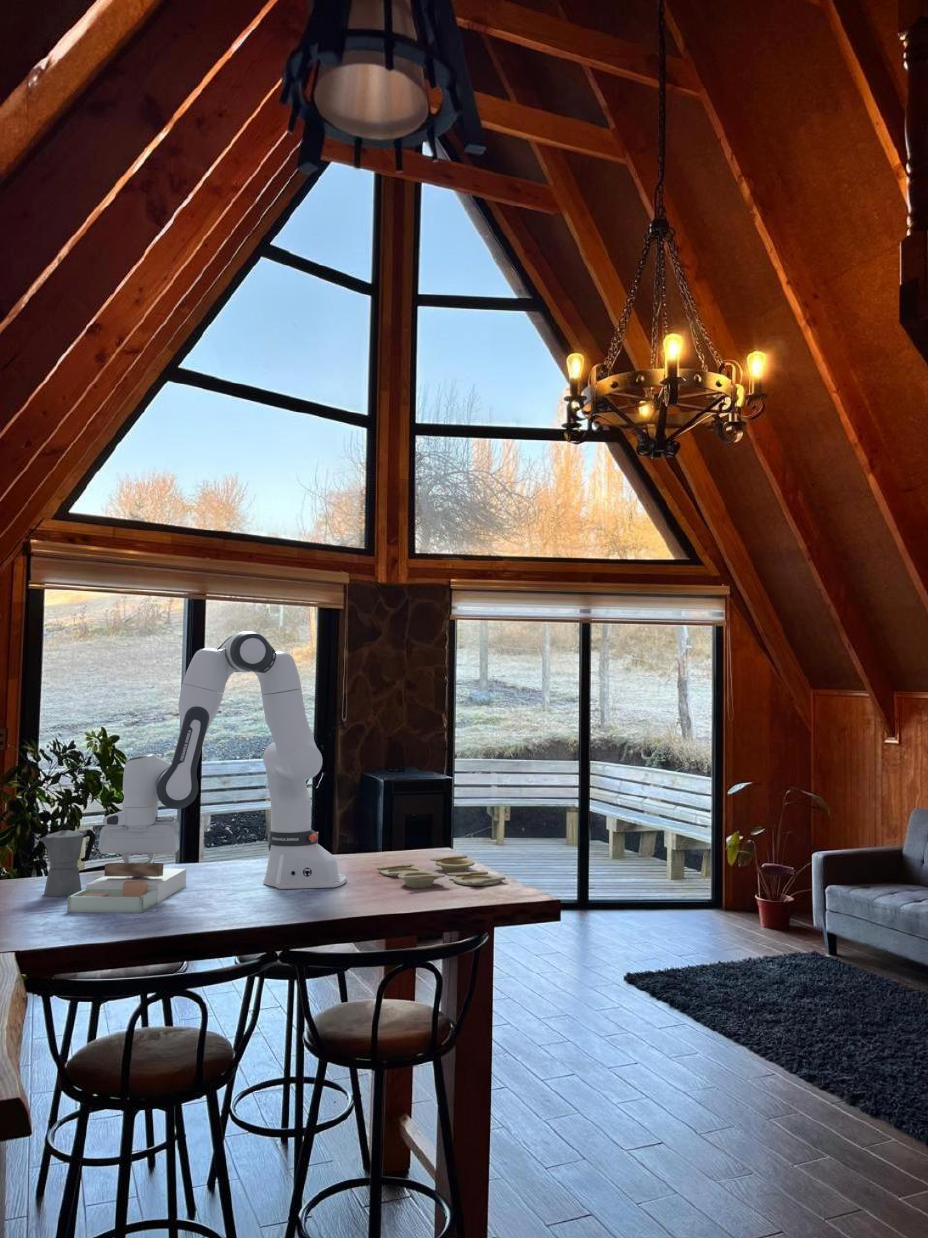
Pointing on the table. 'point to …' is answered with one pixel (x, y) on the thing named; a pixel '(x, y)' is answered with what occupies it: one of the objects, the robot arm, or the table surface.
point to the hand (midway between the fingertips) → (138, 871)
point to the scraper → (134, 869)
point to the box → (111, 901)
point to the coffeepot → (65, 860)
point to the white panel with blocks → (164, 884)
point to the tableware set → (450, 865)
